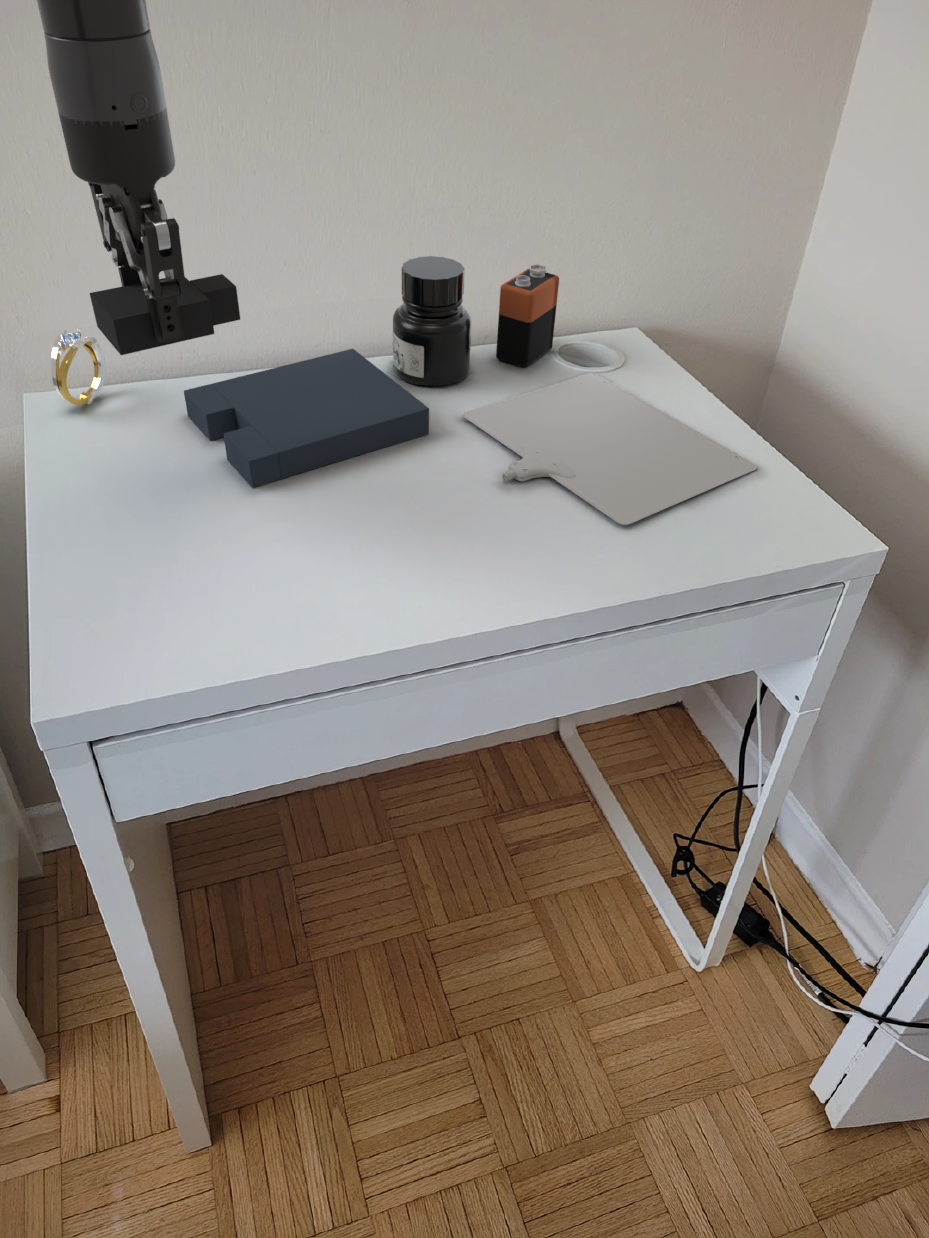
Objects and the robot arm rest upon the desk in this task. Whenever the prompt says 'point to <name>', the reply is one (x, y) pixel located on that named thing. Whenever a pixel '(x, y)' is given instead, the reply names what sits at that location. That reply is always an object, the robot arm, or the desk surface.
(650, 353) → the desk surface
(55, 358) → the ring
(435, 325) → the ink bottle
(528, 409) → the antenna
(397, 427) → the pad mat
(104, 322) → the pad tile
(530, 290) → the battery
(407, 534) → the desk surface
